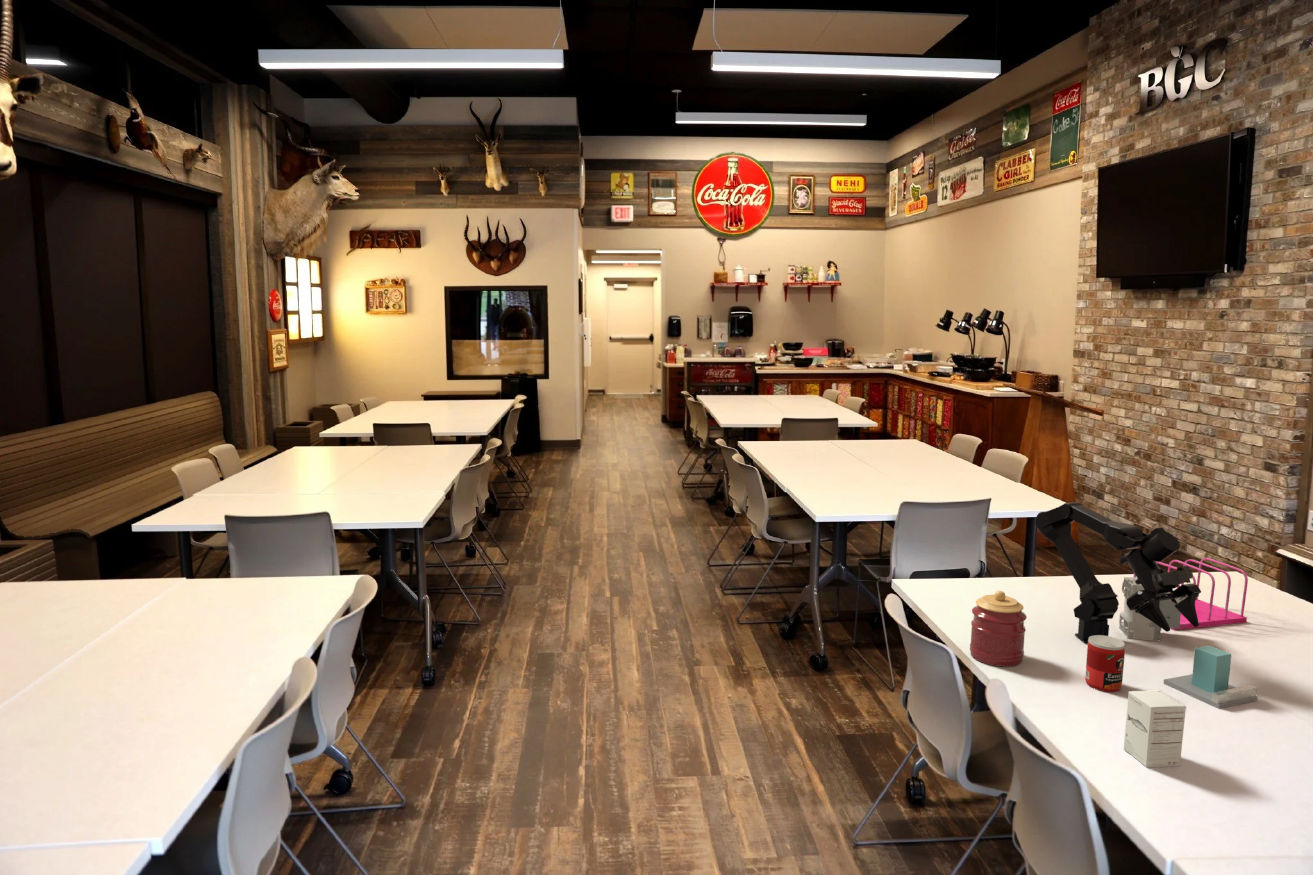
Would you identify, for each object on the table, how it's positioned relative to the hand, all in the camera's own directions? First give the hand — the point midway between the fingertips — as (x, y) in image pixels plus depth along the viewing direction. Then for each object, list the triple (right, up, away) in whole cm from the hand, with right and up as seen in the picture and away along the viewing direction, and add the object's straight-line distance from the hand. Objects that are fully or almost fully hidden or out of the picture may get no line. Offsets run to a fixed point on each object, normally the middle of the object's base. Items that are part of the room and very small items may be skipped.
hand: (1183, 628), depth 207 cm
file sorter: (+28, -7, +45) cm, 53 cm away
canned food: (-20, -13, -2) cm, 24 cm away
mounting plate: (+3, -14, -6) cm, 15 cm away
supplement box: (-28, -18, -36) cm, 49 cm away
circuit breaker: (+9, -9, +30) cm, 32 cm away
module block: (+3, -13, -6) cm, 14 cm away
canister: (-39, -11, +14) cm, 43 cm away
